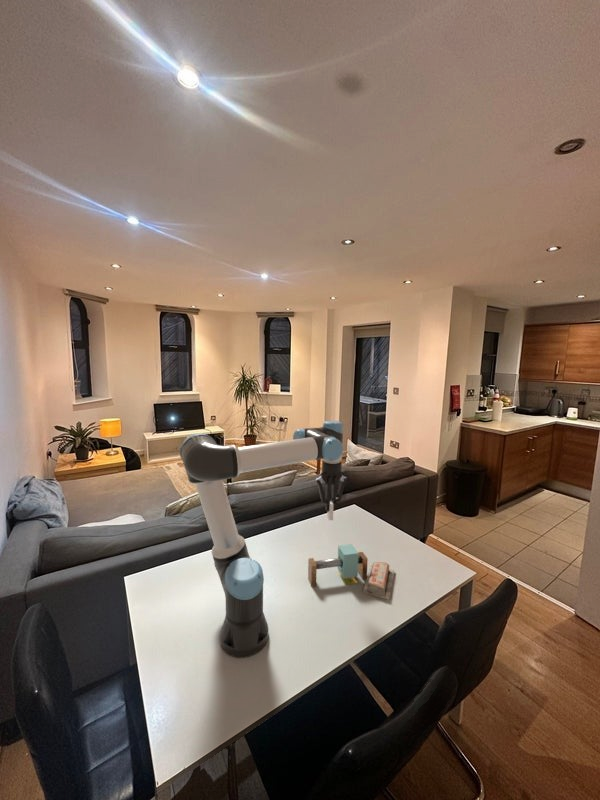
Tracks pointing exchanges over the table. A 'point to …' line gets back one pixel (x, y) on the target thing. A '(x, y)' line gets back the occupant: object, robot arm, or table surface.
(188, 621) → the table surface
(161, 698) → the table surface
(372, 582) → the packaged product
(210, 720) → the table surface
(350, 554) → the collar
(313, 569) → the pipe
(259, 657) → the table surface
